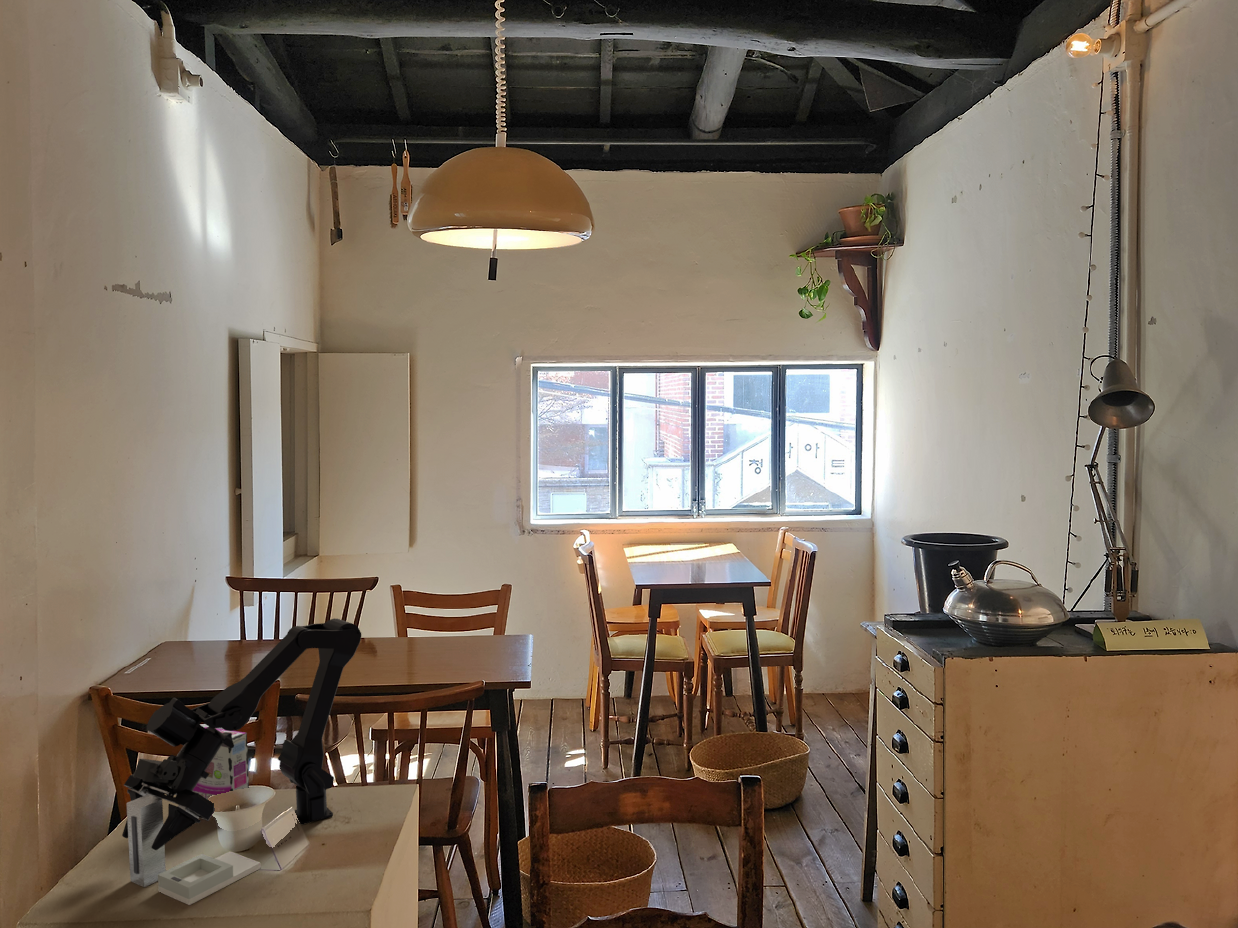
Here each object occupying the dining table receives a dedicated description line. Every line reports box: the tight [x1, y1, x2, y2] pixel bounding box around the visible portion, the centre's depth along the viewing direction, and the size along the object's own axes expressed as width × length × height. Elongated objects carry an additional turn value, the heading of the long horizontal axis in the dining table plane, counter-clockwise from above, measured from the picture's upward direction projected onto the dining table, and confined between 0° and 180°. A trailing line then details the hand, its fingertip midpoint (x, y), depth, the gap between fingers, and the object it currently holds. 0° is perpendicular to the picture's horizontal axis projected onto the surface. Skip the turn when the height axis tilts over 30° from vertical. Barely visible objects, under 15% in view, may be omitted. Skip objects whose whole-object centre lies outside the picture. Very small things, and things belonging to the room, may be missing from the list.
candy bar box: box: [193, 726, 250, 799], centre depth 190 cm, size 11×5×16 cm, turn 68°
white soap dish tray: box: [157, 850, 262, 906], centre depth 164 cm, size 14×8×3 cm, turn 149°
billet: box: [126, 794, 167, 888], centre depth 164 cm, size 4×4×14 cm
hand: (138, 843), depth 163 cm, fingers open, 8 cm apart
